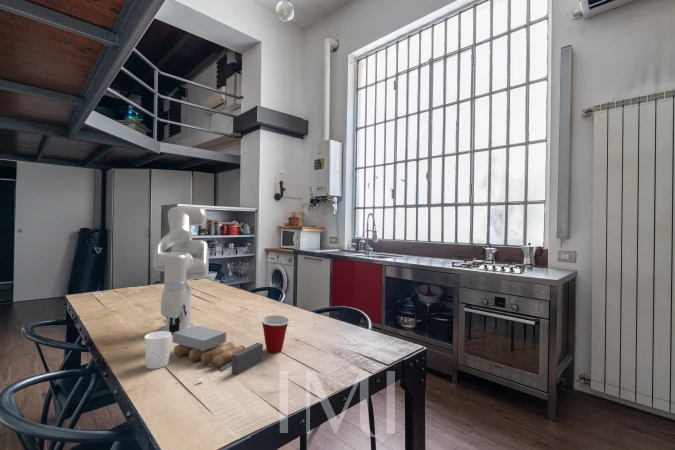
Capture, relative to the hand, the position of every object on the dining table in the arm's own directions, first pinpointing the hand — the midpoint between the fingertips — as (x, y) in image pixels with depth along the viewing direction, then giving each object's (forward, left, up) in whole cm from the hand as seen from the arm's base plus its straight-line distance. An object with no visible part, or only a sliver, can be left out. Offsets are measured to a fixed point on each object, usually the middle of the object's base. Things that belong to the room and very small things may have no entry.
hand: (174, 333), depth 124 cm
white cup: (+10, -13, -5) cm, 17 cm away
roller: (+27, 0, -2) cm, 27 cm away
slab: (+14, 0, -1) cm, 14 cm away
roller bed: (+17, 0, -5) cm, 18 cm away
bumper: (+37, 0, -5) cm, 37 cm away
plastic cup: (+36, +16, -5) cm, 40 cm away
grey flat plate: (+29, 0, -5) cm, 29 cm away
